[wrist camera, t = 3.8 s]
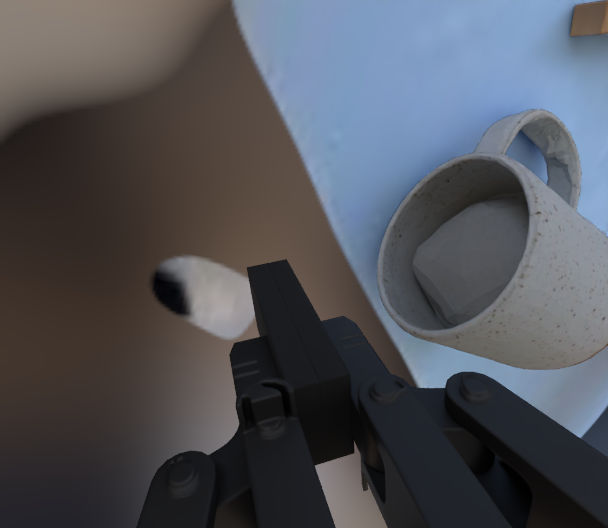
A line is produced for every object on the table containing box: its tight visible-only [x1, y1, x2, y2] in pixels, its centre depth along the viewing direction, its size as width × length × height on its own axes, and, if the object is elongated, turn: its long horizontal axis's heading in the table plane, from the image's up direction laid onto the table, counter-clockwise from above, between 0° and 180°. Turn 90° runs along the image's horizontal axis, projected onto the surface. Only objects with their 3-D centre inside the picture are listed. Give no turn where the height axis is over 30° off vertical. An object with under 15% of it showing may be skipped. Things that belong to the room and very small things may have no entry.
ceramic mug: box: [377, 109, 608, 370], centre depth 17 cm, size 11×8×8 cm
